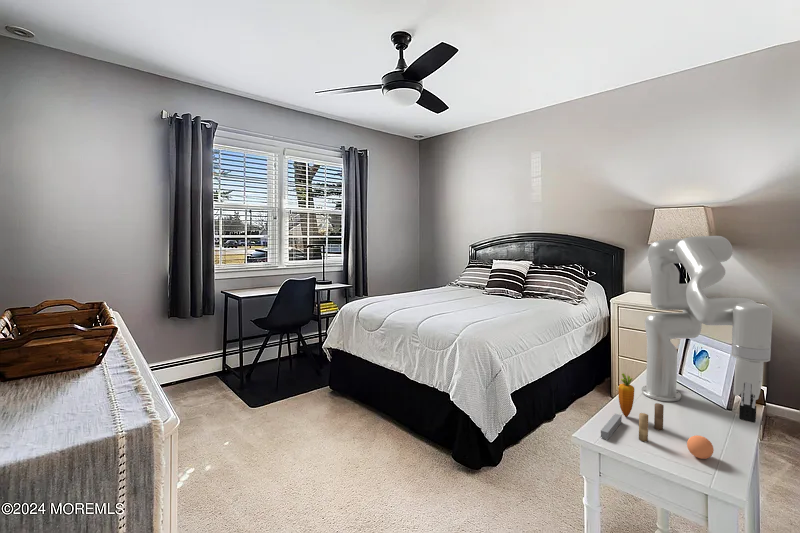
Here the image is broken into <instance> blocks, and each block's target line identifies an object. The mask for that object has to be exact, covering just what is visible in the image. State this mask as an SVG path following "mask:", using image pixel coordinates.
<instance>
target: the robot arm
mask: <svg viewBox="0 0 800 533" xmlns="http://www.w3.org/2000/svg"><path fill="white" fill-rule="evenodd" d="M732 255H733V246H732V244H731V242H730V240H728V238H726V237H724V236H721V235H701V236H700V235H699V236H698V235H697V236H689V237H685V238H668V239H667V238H665V239H659V240H655V241H653V242H652V243H651V244H650V245H649V247H648V249H647V260H648V264H649V266H650V271H651V277H650V279H651V280H650V303H651V305H652V307H653V309H656V310H662V311H679V310H680V311H682V312H653V313H650V314H649V315H647V316H646V317H645V319H644V328H645V335H646V380H645V381H646V383H645V384H646V385H644V386H642V387H641V394H643V395H645V396H646V397H647V398H649V399H653V400H657V401H662V402H670V403H671V402H677V401H680V400H681V399H682V394H681V393H680V392H679V391H678V390H677V384H678V383H677V380H678V377H677V375H678V374H677V373H678V349H677V348H676V346H675V345H674V344H673V343H672V341H671V340H674V339H678V340H680V339H685V340H686V339H696V338H697V337H699V336H700V335H701V331H702V326H703V325H706V326H732V331H731V334H732V335H731V352H730V353H731V354H730V355H731V356H732V357H733V358H735V364H734V365H735V366H734V376H733V378H734V380H733V395H734V397H737V396H740V402H739V411H738V412H739V414H738V416H739V417H738V419H739V420H741V421H745V422H748V423H756V420H757V405H756V403H757V402H756V401H757V400H759V398H760V394H761V391H762V390H761V389H762V384H763V376H764V363H767V362H770V361H771V352H772V350H771V349H772V336H773V335H772V333H773V314H774V312H773V309H772V308H771V307H770V306H768V305H766V304H762V303H759V302H758V303H757V302H756V301H755V300H753V299H751V298H747V297H707V296H706V295H705V293H704V289H706V288H708V287H711V286H714V285H716V284H717V283H719V282H720V281H722V279H723V278H724V277H725V275H726V268H725V267H724V265H723V264H722V263H724V262H727V261H728V260H730V258H732ZM675 264H682V266H683V267H684V269H685V271H686V272H687V273H688V275H689V277H690V280H689V282H688V283H680V271H679V269H678V267H677V266H676V265H675Z"/></svg>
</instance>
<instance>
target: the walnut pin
mask: <svg viewBox="0 0 800 533" xmlns="http://www.w3.org/2000/svg"><path fill="white" fill-rule="evenodd" d="M664 410H665V408H664V404H662V403H658V402H656V403H654V418H653V419H654V422H653V423H654V425H653V428H654V430H656V431H659V432H660V431H664V412H665V411H664Z"/></svg>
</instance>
